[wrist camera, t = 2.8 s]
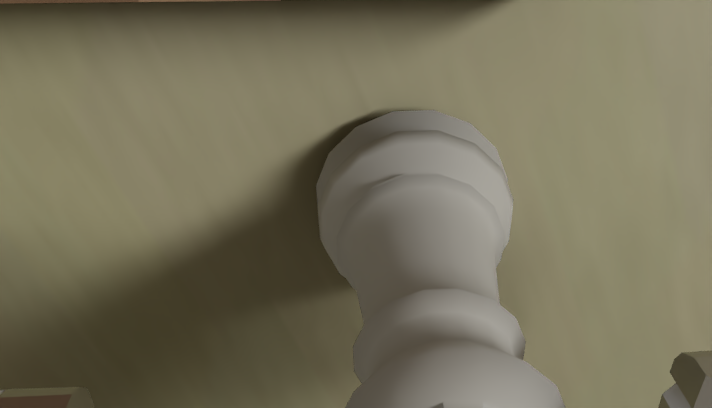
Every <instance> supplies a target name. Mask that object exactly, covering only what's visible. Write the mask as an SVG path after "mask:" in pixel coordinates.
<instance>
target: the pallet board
mask: <svg viewBox="0 0 712 408" xmlns="http://www.w3.org/2000/svg"><path fill="white" fill-rule="evenodd" d="M187 1H279V0H0V4H3V3H95V2H187Z"/></svg>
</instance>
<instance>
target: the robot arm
mask: <svg viewBox="0 0 712 408" xmlns="http://www.w3.org/2000/svg"><path fill="white" fill-rule="evenodd" d="M670 373H671V375H672V377H673V378H674V380H675V382H676V383H675V384H674V385H673V386H672V387H670V388H669V389H668V390H667V391H666V392H664V393H663V394H662V397H661V400H660V404H659V408H712V351H698V352H683V353H681V354H680V355H679V356H677V357H676V358H675V359H674V362H673V364H672V367H671V370H670ZM93 407H94V402H93V400H92V398H91V396H90V393H89V391H88V389H87V388H84V387H57V388H24V389H6V390H0V408H93Z"/></svg>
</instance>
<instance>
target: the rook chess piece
mask: <svg viewBox="0 0 712 408" xmlns="http://www.w3.org/2000/svg"><path fill="white" fill-rule="evenodd" d="M507 182H508V179H507V176H506V173H505V170H504V168H503V165H502V162H501V160H500V157H499V154H498V151H497V149H496V147H495V146H494V145H493V144H492V143H490V142H489V141H488V140H487V139H486V138H485V137H484V136H483V135H482V134H481V133H480V132H479V131H478V130H477V129H476V128H475V127H474V126H473V125H472V124H471V123H468V122H465V121H463V120H460V119H457V118H454V117H452V116H449V115H446V114H443V113H440V112H438V111H435V110H420V111H393V112H390V113H388V114H385V115H383V116H381V117H378V118H376V119H373V120H371V121H369V122H366V123H364V124H361V125H359V126H357V127H355V128H354V129H353V130H352V131H351V132H350V133H349V134H348V135H347V136H346V137H345V138H344V139H343V140H342V141H341V142H340V143H339V144H338V145H337V146H336V147H335V148H334V149H333V150H332V151H331V152H330V153H329V154H328V157H327V159H326V162H325V164H324V167H323V169H322V172H321V174H320V177H319V179H318V182H317V184H316V191H317V205H318V219H319V232H320V239H321V241H322V244H323V246H324V248H325V250H326V251H327V253H328V255H329V256H330V258H331V260H332V262H333V263H334V265H335V267H336V268H337V270H338V272H339V274H341V275H342V276H344V277H345V278H346V279H347V280H348V282H349V284H350V285H351V287H352V288H353V289H355V290H356V291H357V295H358V300H359V304H360V308H361V313H362V317H363V321H364V326H363V328H362V330H361V332H360V334H359V336H358V338H357V340H356V342H355V344H354V346H353V358H354V372H355V373H356V375H357V377H358V378H359V380H360V381H361V383H362V384H361V385H360V386H359V387H358V388H357V389H356V390H355V391H354V392H353V394H352V396H351V398H350V400H349V402H348V403H347V405H346V407H345V408H565V405H564V403H563V400H562V398H561V395H560V393H559V390H558V388H557V385H555V384H554V383H553V382H552V381H550V380H549V379H548V378H546V377H545V376H544V375H543V374H541V373H540V372H539V371H538V370H536V369H535V368H534V367H532V366H531V365H530V364H529V363H527V362H526V361H523V356H524V350H525V343H526V341H525V338H524V336H523V334H522V331H521V329H520V326H519V324H518V322H517V319H516V317H514V316H513V315H512V314H511V313H510V312H508V311H507V310H506V309H505V308H503V307H502V306H501V305H500V301H499V292H498V283H497V273H496V267H497V265H498V263H499V262H500V260H501V257H502V252H503V250H504V248H505V247H506V245H507V243H508V242H509V235H510V227H511V218H512V210H513V197H512V194H511V192H510V189H509V186H508V184H507Z"/></svg>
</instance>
